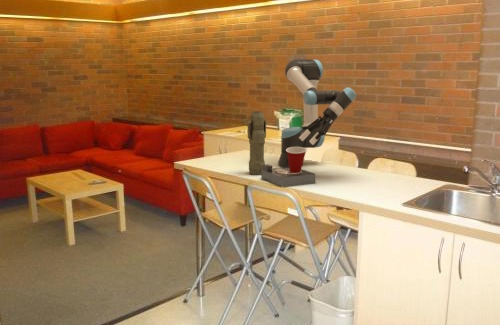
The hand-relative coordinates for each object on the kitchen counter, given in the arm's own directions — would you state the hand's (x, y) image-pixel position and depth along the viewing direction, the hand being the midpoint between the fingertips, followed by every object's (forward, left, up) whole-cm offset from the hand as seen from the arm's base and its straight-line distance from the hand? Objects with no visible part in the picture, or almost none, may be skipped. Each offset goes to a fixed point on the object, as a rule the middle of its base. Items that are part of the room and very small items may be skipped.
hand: (305, 141), depth 257 cm
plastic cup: (+2, -8, -15) cm, 17 cm away
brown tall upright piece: (-26, -15, -21) cm, 37 cm away
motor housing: (-2, -9, -21) cm, 23 cm away
